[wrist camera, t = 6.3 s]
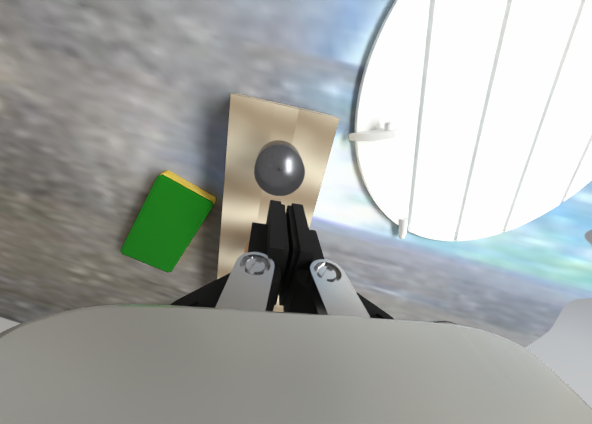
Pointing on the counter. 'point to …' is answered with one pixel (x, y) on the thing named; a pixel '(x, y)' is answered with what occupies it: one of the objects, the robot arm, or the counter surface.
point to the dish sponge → (167, 221)
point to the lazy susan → (476, 114)
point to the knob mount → (242, 157)
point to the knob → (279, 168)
